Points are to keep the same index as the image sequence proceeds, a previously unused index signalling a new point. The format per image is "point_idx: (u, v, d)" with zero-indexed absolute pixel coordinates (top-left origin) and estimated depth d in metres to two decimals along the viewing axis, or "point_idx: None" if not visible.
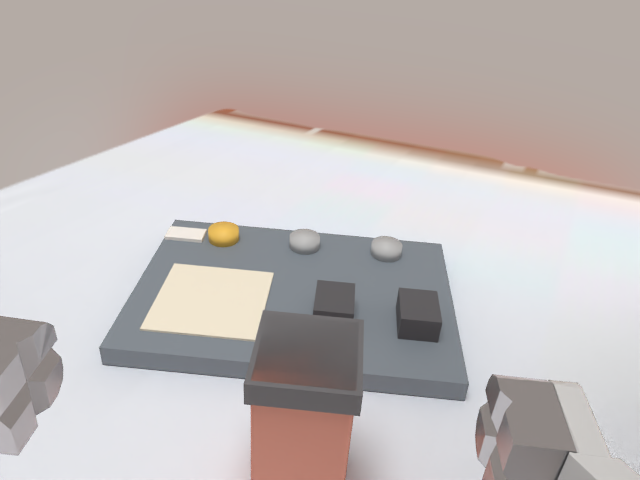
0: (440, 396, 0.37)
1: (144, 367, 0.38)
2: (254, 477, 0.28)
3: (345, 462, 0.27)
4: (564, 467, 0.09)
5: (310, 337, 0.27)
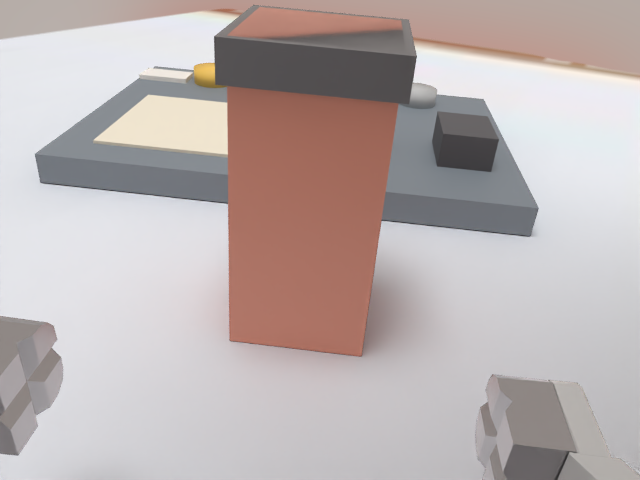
0: (497, 230, 0.27)
1: (96, 186, 0.28)
2: (234, 253, 0.18)
3: (378, 217, 0.17)
4: (564, 467, 0.09)
5: (326, 21, 0.17)
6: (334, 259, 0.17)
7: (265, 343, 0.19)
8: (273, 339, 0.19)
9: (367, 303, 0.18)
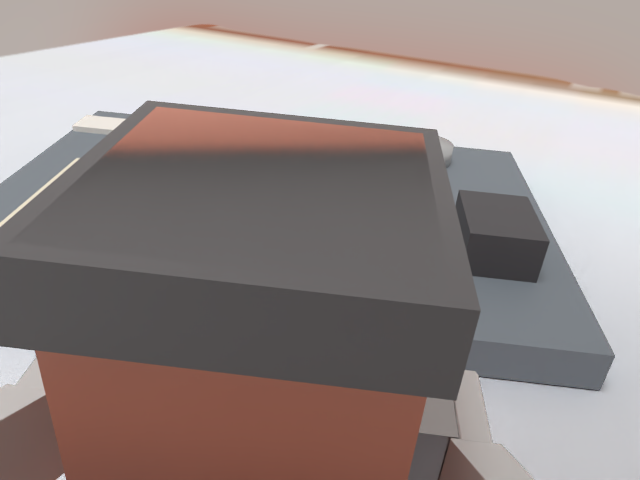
0: (552, 381, 0.19)
1: None
2: None
3: None
4: (447, 453, 0.09)
5: (275, 151, 0.08)
6: None
7: None
8: None
9: None
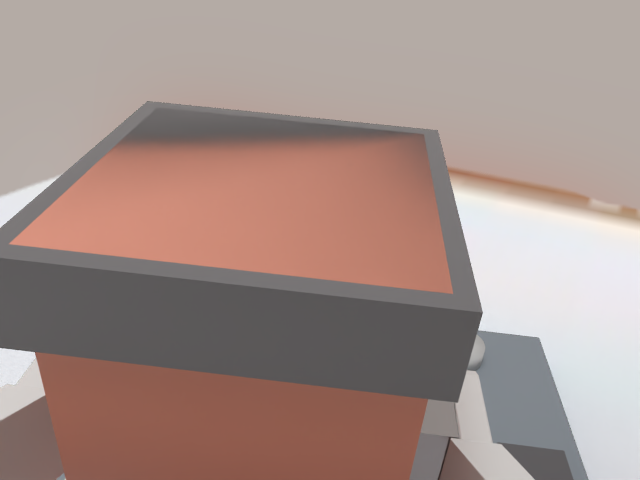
0: None
1: None
2: None
3: None
4: (447, 453, 0.09)
5: (276, 152, 0.08)
6: None
7: None
8: None
9: None
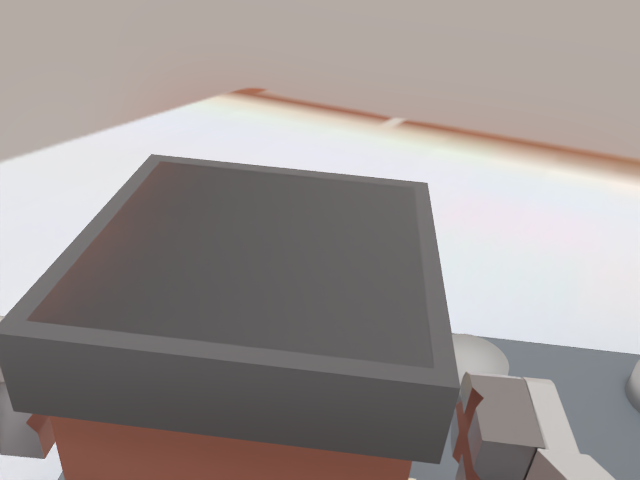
0: None
1: None
2: None
3: None
4: (533, 463, 0.09)
5: (273, 211, 0.09)
6: None
7: None
8: None
9: None
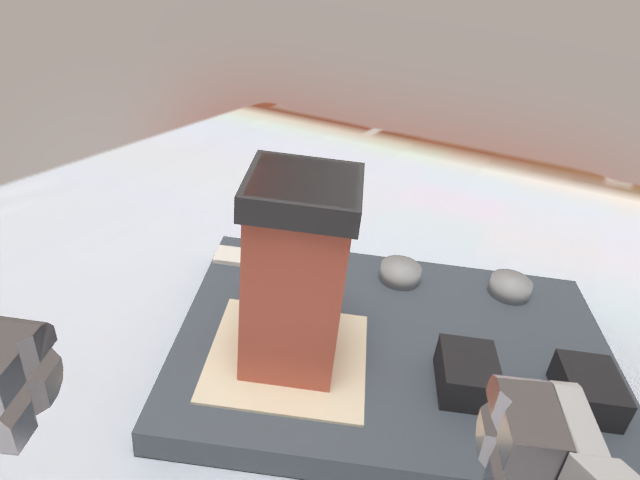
0: None
1: (197, 463, 0.25)
2: (242, 323, 0.26)
3: (340, 303, 0.25)
4: (564, 467, 0.09)
5: (307, 170, 0.25)
6: (310, 329, 0.26)
7: (262, 382, 0.28)
8: (267, 380, 0.28)
9: (333, 357, 0.26)
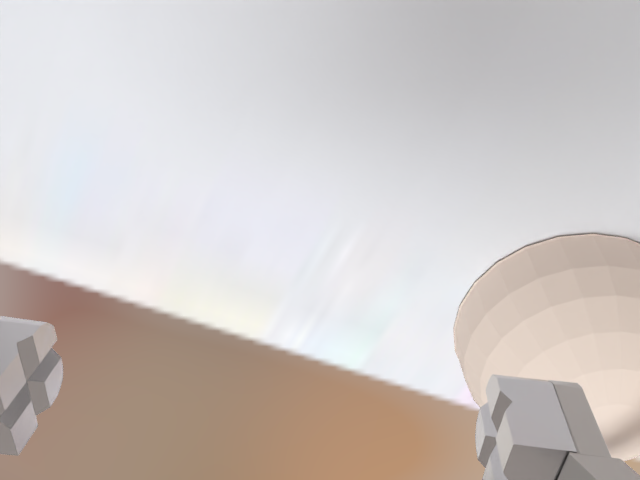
0: None
1: None
2: None
3: None
4: (564, 467, 0.09)
5: None
6: None
7: None
8: None
9: None
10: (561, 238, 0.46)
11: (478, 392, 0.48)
